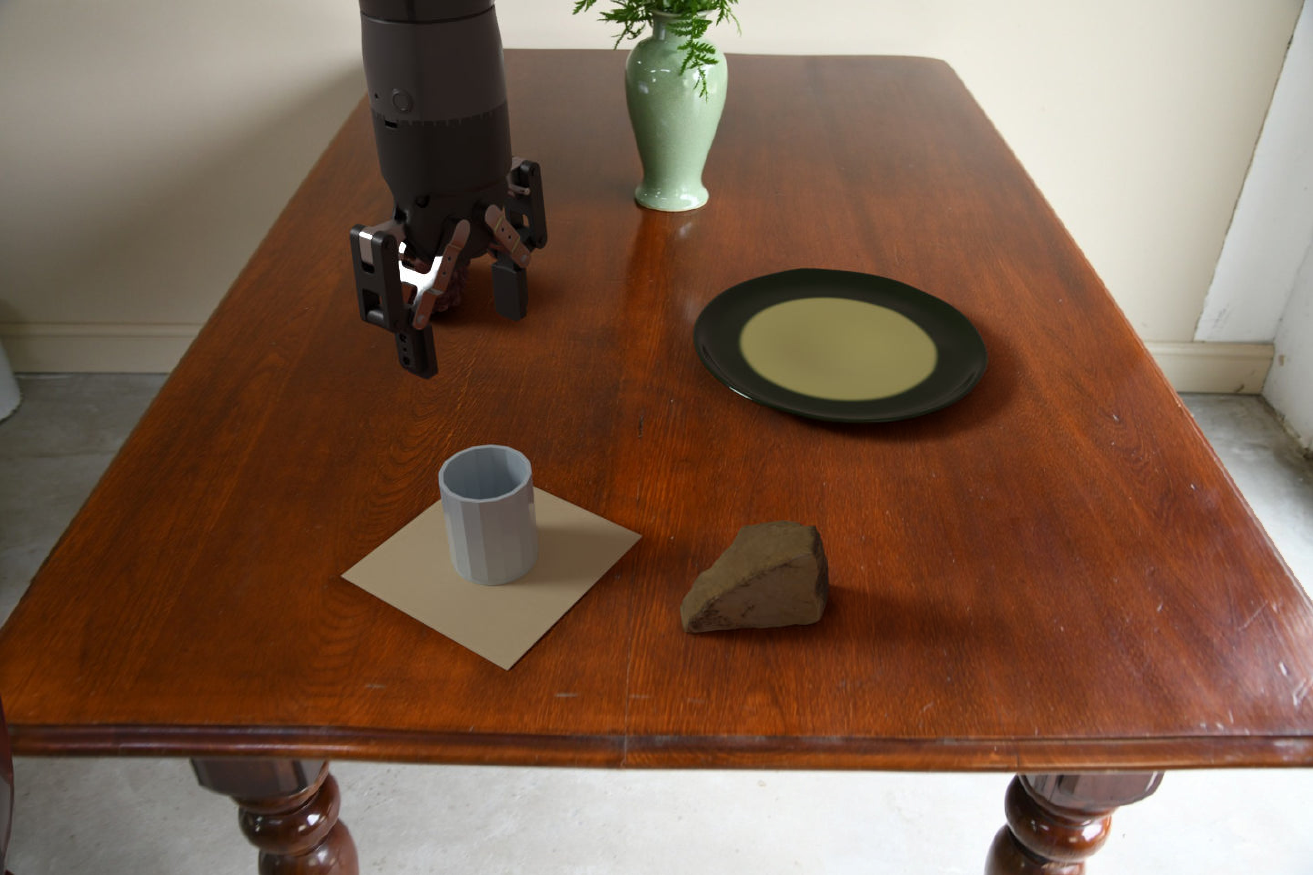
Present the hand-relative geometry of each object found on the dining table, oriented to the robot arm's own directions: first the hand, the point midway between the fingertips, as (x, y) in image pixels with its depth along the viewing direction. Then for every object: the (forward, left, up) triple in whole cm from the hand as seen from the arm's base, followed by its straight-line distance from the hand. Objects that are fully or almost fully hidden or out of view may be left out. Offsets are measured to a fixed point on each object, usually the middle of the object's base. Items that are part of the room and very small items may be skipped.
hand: (468, 344), depth 66 cm
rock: (+6, -19, -19) cm, 28 cm away
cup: (0, 0, -19) cm, 19 cm away
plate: (+40, -9, -19) cm, 45 cm away
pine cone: (+26, +32, -19) cm, 45 cm away
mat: (0, 0, -19) cm, 19 cm away
